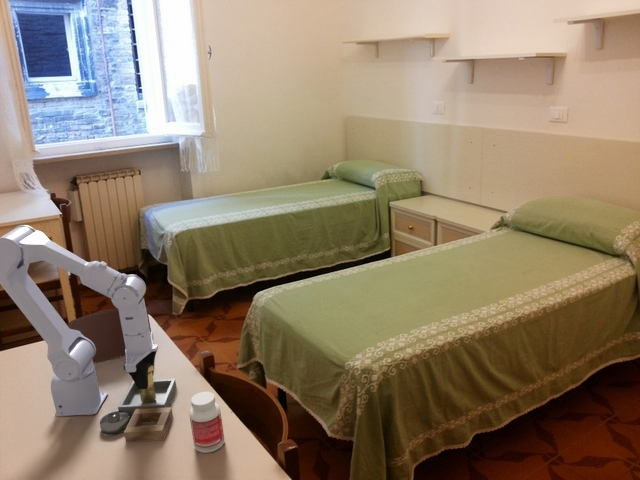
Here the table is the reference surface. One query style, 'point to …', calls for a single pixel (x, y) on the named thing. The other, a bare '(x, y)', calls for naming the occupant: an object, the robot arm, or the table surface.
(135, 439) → the block
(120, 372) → the table surface
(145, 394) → the lock pin
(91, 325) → the letter holder
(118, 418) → the pulley
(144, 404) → the tray
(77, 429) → the table surface
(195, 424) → the pill bottle
